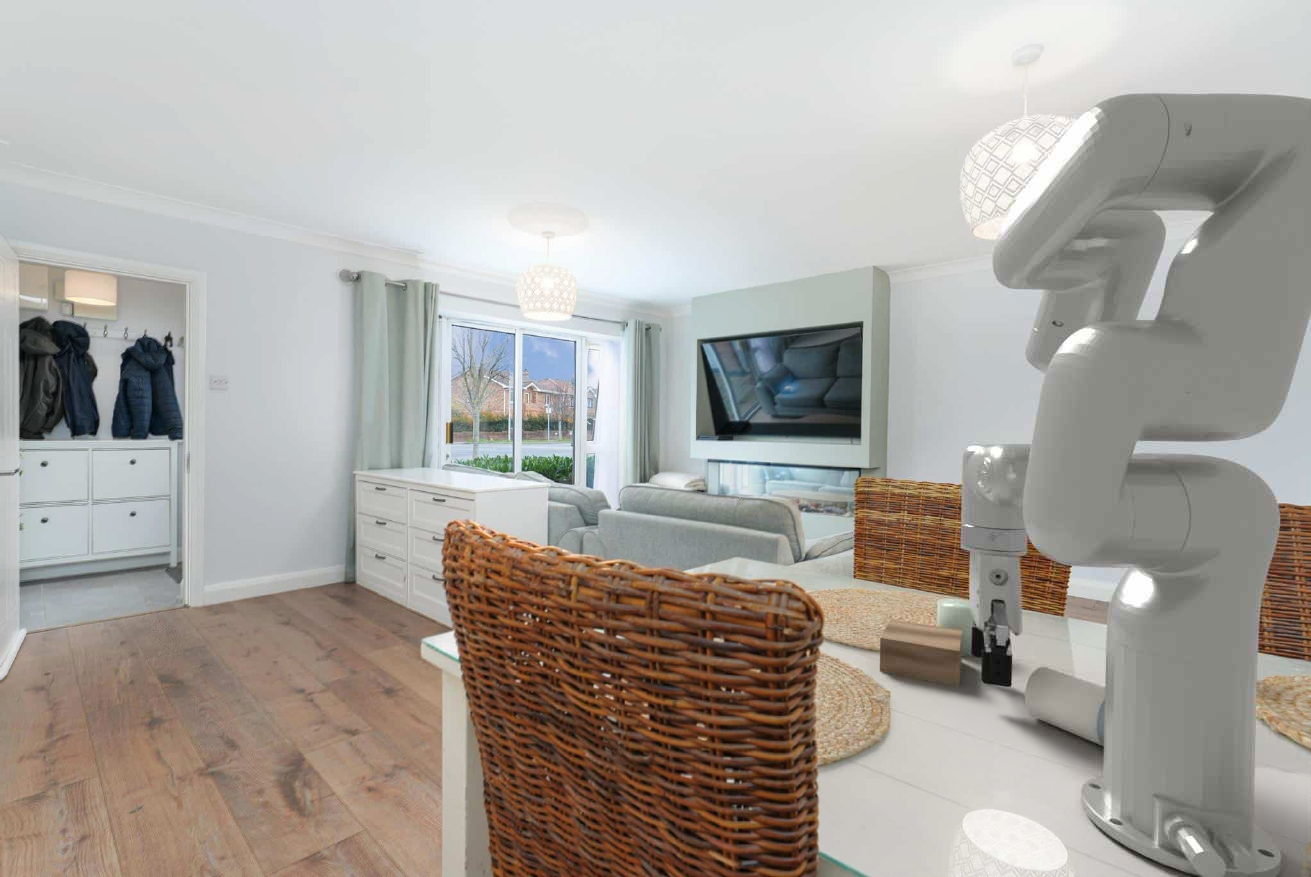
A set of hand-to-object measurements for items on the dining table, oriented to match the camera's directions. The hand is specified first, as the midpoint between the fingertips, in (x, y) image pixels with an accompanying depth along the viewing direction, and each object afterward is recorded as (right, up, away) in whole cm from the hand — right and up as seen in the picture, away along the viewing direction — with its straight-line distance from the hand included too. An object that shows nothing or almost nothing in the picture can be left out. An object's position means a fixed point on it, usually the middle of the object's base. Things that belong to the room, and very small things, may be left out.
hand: (990, 670), depth 78 cm
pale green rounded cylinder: (+4, -3, +16) cm, 17 cm away
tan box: (-5, -3, +9) cm, 10 cm away
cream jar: (+2, 0, -7) cm, 7 cm away
